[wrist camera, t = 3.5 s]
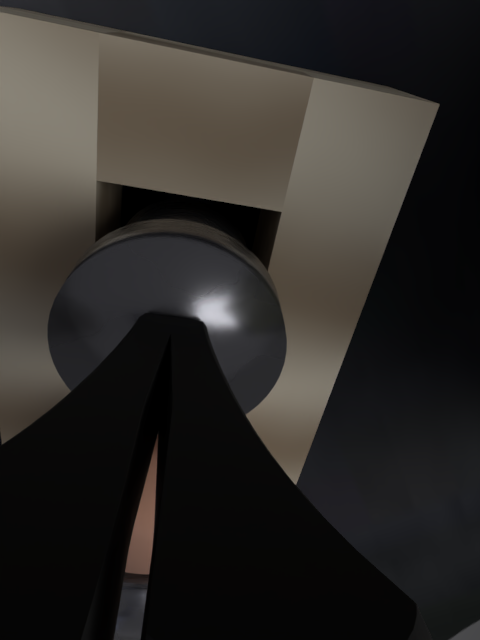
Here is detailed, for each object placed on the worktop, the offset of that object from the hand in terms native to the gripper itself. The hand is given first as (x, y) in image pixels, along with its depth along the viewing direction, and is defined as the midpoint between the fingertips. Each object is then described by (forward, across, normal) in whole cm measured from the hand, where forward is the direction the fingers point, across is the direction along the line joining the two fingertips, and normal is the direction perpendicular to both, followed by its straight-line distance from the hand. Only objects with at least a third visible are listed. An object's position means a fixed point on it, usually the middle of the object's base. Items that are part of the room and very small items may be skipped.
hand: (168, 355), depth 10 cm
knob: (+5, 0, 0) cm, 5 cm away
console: (+8, 0, +6) cm, 10 cm away
